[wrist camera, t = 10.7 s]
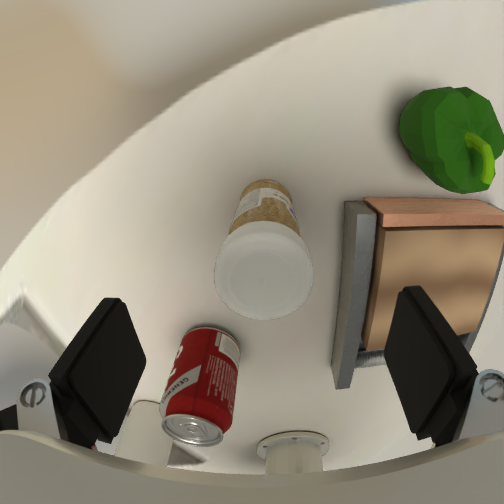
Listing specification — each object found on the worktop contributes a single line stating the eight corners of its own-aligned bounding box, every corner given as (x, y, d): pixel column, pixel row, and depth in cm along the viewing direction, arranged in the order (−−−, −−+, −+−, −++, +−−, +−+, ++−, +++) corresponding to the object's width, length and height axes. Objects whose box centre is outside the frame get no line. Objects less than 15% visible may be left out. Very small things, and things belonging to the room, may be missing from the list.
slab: (466, 318, 26) (475, 330, 24) (360, 335, 27) (366, 351, 25) (492, 220, 21) (506, 228, 19) (375, 221, 22) (385, 231, 20)
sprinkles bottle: (301, 209, 25) (333, 291, 13) (260, 238, 26) (254, 338, 14) (270, 167, 24) (274, 212, 11) (228, 199, 25) (191, 273, 13)
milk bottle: (125, 397, 38) (84, 502, 20) (168, 401, 37) (134, 519, 19) (144, 423, 41) (114, 518, 23) (185, 427, 41) (161, 531, 22)
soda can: (229, 318, 30) (212, 410, 19) (248, 361, 33) (240, 448, 22) (173, 328, 31) (140, 412, 20) (196, 368, 34) (175, 449, 23)
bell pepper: (402, 72, 19) (467, 54, 10) (465, 118, 20) (536, 128, 11) (370, 151, 23) (428, 170, 13) (437, 191, 23) (502, 226, 14)
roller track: (451, 345, 31) (466, 369, 27) (330, 365, 33) (337, 396, 28) (490, 200, 23) (518, 215, 19) (344, 197, 24) (361, 214, 20)
